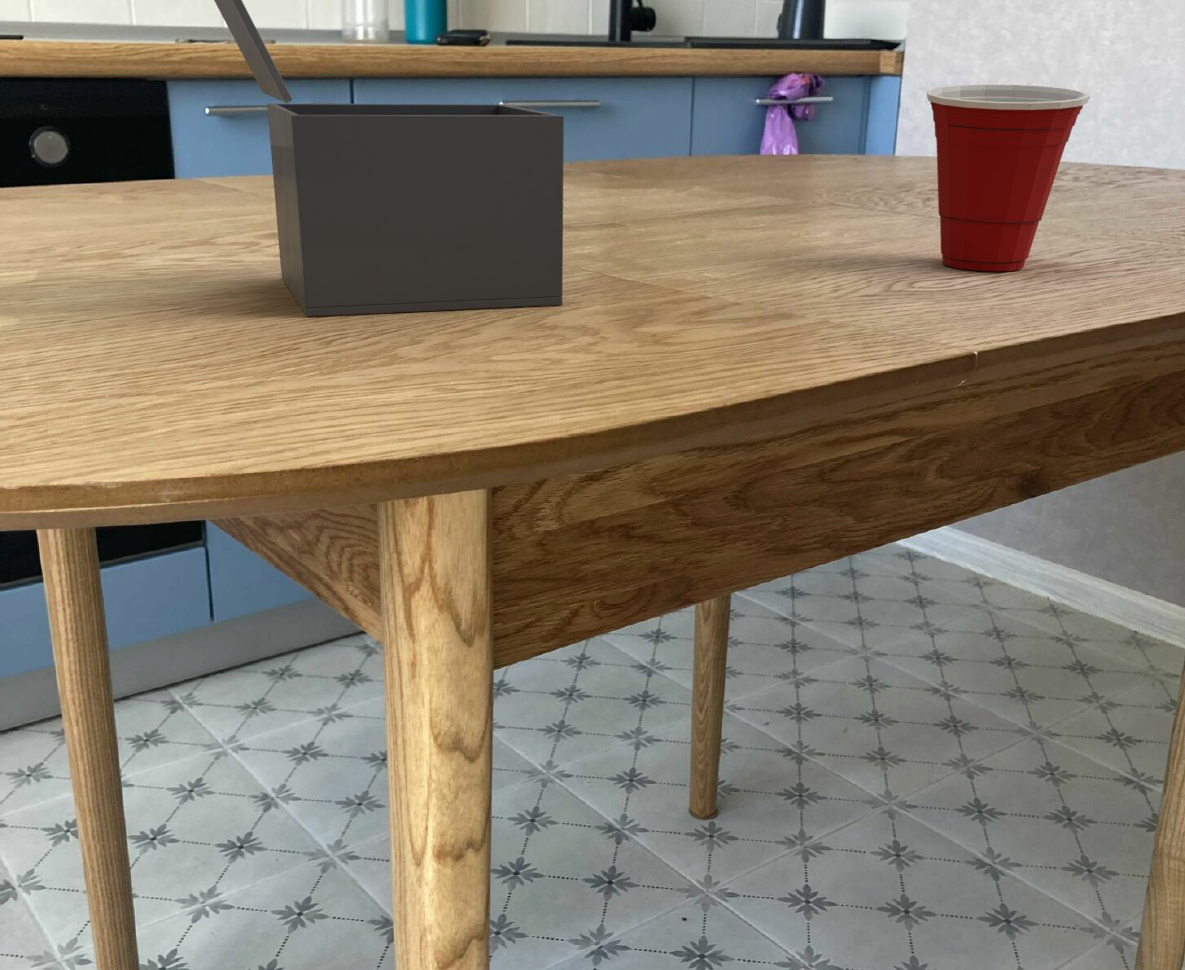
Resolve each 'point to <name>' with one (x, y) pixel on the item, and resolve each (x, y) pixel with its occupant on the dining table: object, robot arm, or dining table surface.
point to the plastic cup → (997, 167)
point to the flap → (253, 49)
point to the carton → (418, 206)
